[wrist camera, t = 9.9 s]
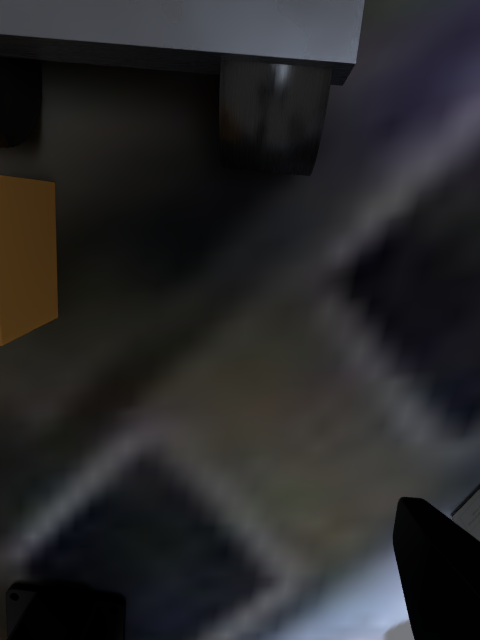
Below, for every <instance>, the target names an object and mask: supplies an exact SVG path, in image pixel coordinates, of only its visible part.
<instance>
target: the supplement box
mask: <svg viewBox="0 0 480 640" xmlns="http://www.w3.org/2000/svg"><path fill="white" fill-rule="evenodd" d="M452 519H453V521H454V522H455V523H456V524H457V525H459V526H460V527H461V528H463V529H464V530H465V531H467V532H468V533H469V534H471V535H472V536H473V537H475V538H476V539H477V540H479V541H480V489H479V490H478V491H477V492H476V493H475V494H474V495H473V496H472V497H471V498H470V499H469V500H468V501H467V502H466V503H465V504H464V506H463V507H462V508H461V509H460V510H459V511H457V512H456V513H455V515H454V516H453V517H452Z"/></svg>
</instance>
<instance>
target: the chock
mask: <svg viewBox="0 0 480 640" xmlns="http://www.w3.org/2000/svg"><path fill="white" fill-rule="evenodd" d="M56 318H58V292H57V249H56V206H55V182H49V181H41V180H34V179H26V178H19V177H12V176H4V175H0V346H3V345H5V344H7V343H9V342H11V341H13V340H15V339H17V338H19V337H21V336H23V335H25V334H27V333H29V332H30V331H32V330H34V329H36V328H38V327H40V326H42V325H44V324H46V323H48V322H50V321H52V320H54V319H56Z"/></svg>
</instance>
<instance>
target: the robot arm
mask: <svg viewBox="0 0 480 640" xmlns="http://www.w3.org/2000/svg"><path fill="white" fill-rule="evenodd" d="M393 547H394V552H395V556H396V561H397V565H398V570H399V574H400V579H401V584H402V588H403V593H404V597H405V602H406V606H407V611H408V615H409V620H410V624H411V628H412V632H413V636H414V639H415V640H480V541H479V540H477V539H476V538H475V537H473V536H472V535H471V534H469V533H468V532H467V531H465V530H464V529H463V528H461V527H460V526H459V525H457V524H456V523H455V522H453V521H452V520H451V519H450V518H448V517H447V516H446V515H444V514H443V513H442V512H440V511H439V510H438V509H436V508H435V507H434V506H432V505H431V504H430V503H428V502H427V501H425V500H424V499H422V498H412V497H402V498H400V499H399V502H398V505H397V511H396V517H395V524H394V530H393ZM114 606H115V607H114ZM125 613H126V603H125V601H124V600H123V599H122V598H121V597H118V596H111V595H104V594H96V593H89V592H81V591H74V590H66V589H59V588H51V587H44V586H36V585H29V584H21V583H14V584H12V585H11V586H10V588H9V589H8V591H7V592H6V614H7V633H8V638H7V640H125Z"/></svg>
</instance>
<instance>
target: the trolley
mask: <svg viewBox="0 0 480 640" xmlns="http://www.w3.org/2000/svg"><path fill="white" fill-rule="evenodd" d="M364 2H365V0H0V147H5V148H9V147H14V146H17V145H19V144H20V143H22V142H23V141H24V140H25V139H26V138H27V137H28V136H29V134H30V133H31V131H32V129H33V127H34V125H35V122H36V119H37V116H38V112H39V107H40V101H41V89H42V76H41V62H40V60H48V61H60V62H71V63H83V64H95V65H107V66H118V67H130V68H142V69H154V70H165V71H177V72H189V73H201V74H212V75H220V88H219V138H220V153H221V161H222V165H223V167H224V168H230V169H240V170H251V171H262V172H273V173H283V174H294V175H305V176H310V175H311V173H312V171H313V168H314V164H315V161H316V157H317V153H318V148H319V144H320V139H321V134H322V129H323V124H324V119H325V113H326V108H327V102H328V96H329V90H330V85H342V86H343V84H344V82H345V81H346V79H347V77H348V76H349V74H350V72H351V70H352V69H353V67H354V65H355V64H356V57H357V50H358V44H359V37H360V30H361V23H362V16H363V9H364Z"/></svg>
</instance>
